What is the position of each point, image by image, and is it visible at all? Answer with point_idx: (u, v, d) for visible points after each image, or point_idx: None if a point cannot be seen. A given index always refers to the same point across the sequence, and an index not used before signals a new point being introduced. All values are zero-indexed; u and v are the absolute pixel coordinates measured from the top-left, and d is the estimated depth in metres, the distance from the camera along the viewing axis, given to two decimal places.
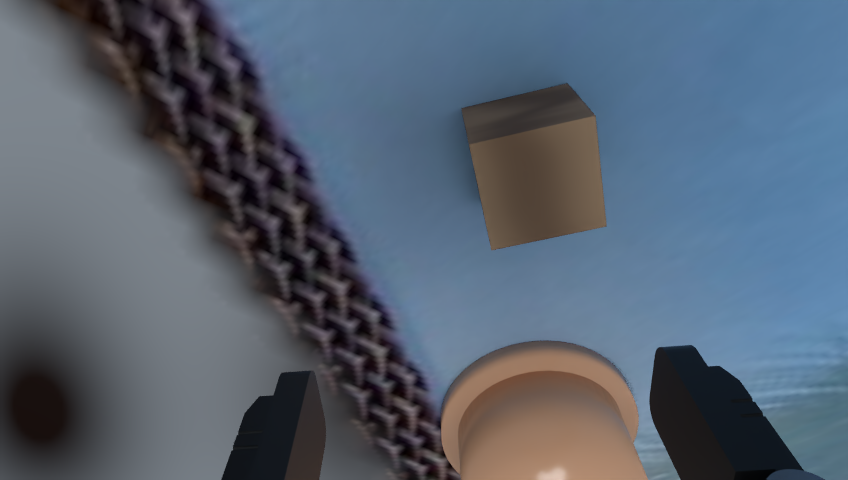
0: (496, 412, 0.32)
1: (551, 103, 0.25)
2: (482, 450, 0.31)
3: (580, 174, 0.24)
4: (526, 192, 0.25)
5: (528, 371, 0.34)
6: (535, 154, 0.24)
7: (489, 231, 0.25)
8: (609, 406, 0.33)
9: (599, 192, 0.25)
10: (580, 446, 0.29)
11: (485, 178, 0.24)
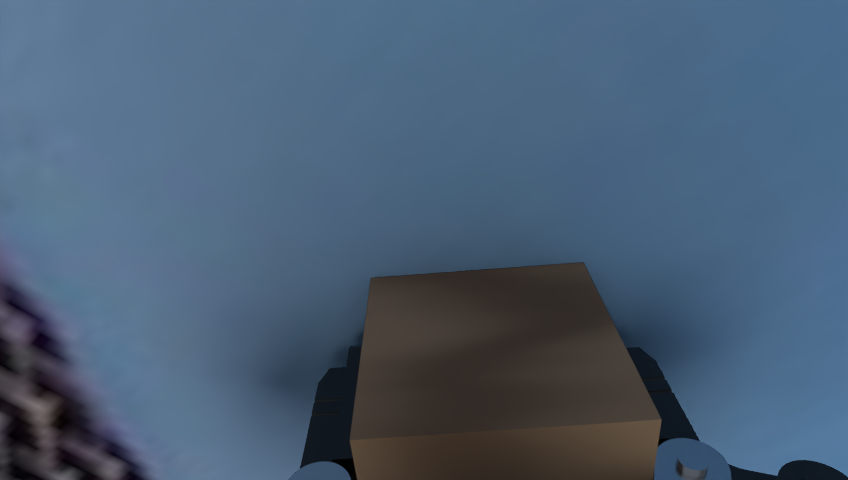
0: None
1: (553, 325, 0.12)
2: None
3: None
4: None
5: None
6: (505, 475, 0.10)
7: None
8: None
9: None
10: None
11: None
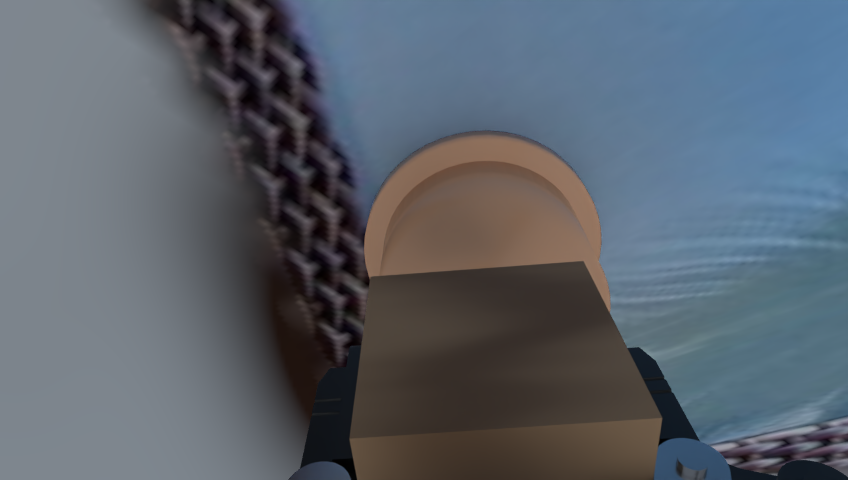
0: (431, 193, 0.26)
1: (553, 324, 0.12)
2: (407, 227, 0.25)
3: None
4: None
5: (477, 159, 0.28)
6: (505, 474, 0.10)
7: None
8: (570, 208, 0.27)
9: None
10: (529, 214, 0.23)
11: None
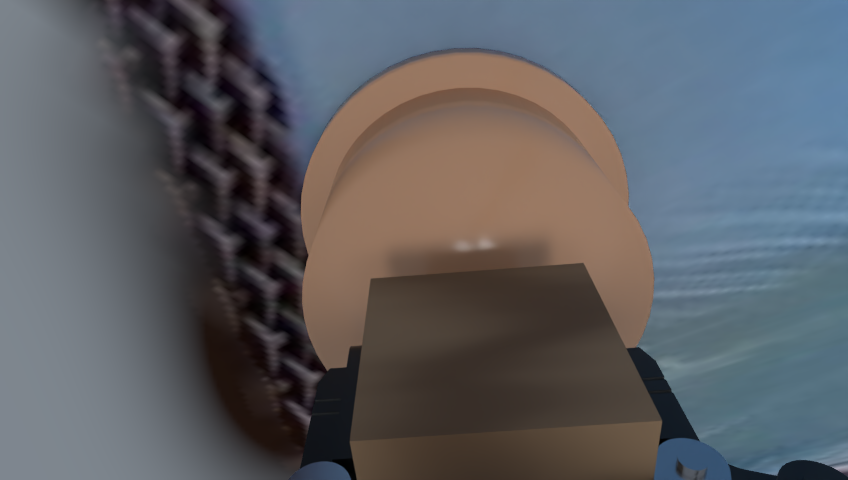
0: (392, 126, 0.18)
1: (553, 325, 0.12)
2: (354, 171, 0.17)
3: None
4: None
5: (461, 84, 0.19)
6: (505, 476, 0.10)
7: None
8: None
9: None
10: (540, 148, 0.15)
11: None
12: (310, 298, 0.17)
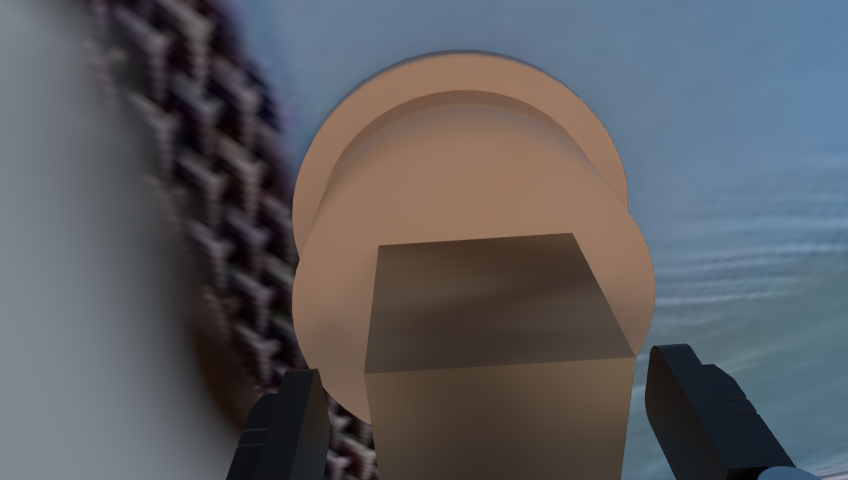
0: (386, 129, 0.17)
1: (543, 283, 0.13)
2: (346, 176, 0.16)
3: (582, 451, 0.12)
4: (472, 466, 0.12)
5: (456, 87, 0.19)
6: (499, 408, 0.11)
7: None
8: None
9: None
10: (538, 152, 0.14)
11: (391, 435, 0.12)
12: (300, 307, 0.16)
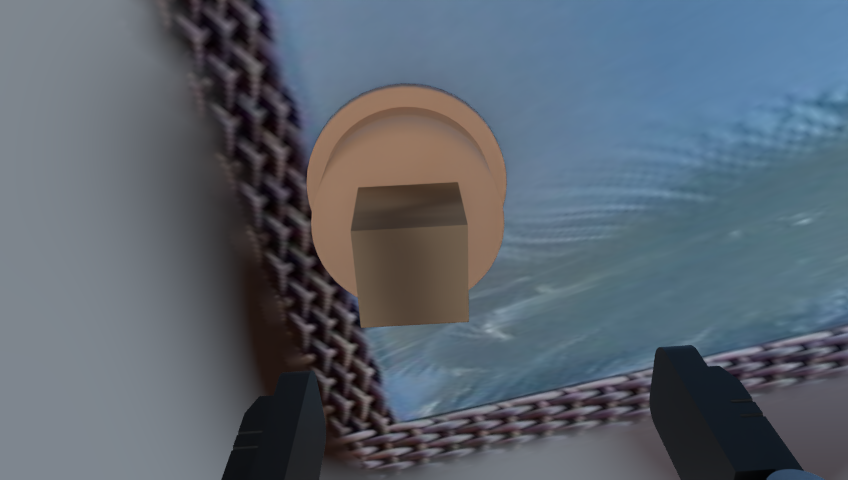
0: (363, 127, 0.32)
1: (437, 201, 0.28)
2: (341, 152, 0.30)
3: (449, 273, 0.26)
4: (399, 281, 0.26)
5: (404, 105, 0.33)
6: (410, 249, 0.26)
7: (361, 310, 0.27)
8: (477, 148, 0.33)
9: (465, 291, 0.27)
10: (438, 139, 0.29)
11: (362, 263, 0.26)
12: (315, 221, 0.30)
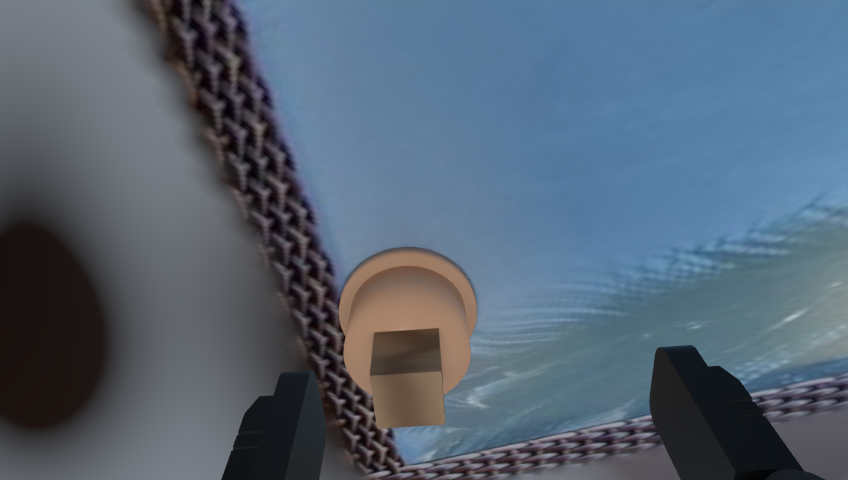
0: (376, 286, 0.48)
1: (423, 348, 0.43)
2: (362, 306, 0.46)
3: (431, 397, 0.42)
4: (400, 402, 0.42)
5: (404, 265, 0.49)
6: (406, 385, 0.42)
7: (376, 419, 0.43)
8: (454, 294, 0.49)
9: (441, 407, 0.43)
10: (425, 304, 0.44)
11: (377, 393, 0.42)
12: (346, 352, 0.46)
